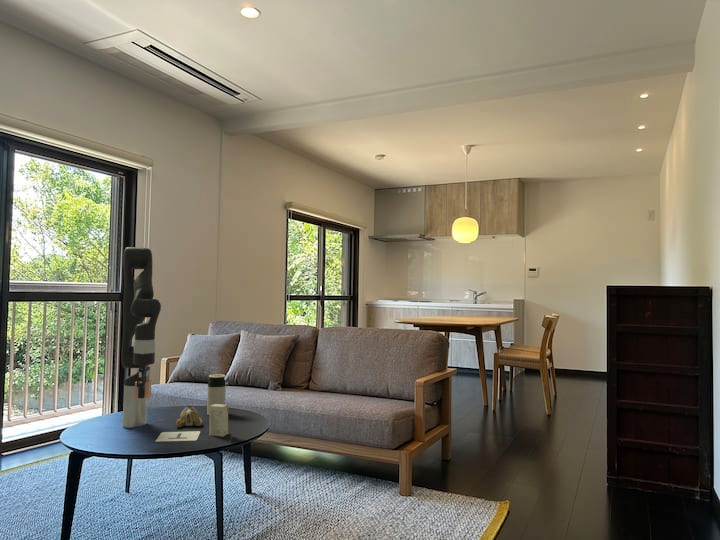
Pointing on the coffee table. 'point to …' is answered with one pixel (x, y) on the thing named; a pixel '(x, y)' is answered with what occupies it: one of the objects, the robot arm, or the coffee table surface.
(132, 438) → the coffee table surface
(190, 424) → the ceramic sculpture
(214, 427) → the skincare box
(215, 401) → the travel mug
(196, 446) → the coffee table surface
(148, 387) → the terracotta block
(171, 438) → the letter mat
